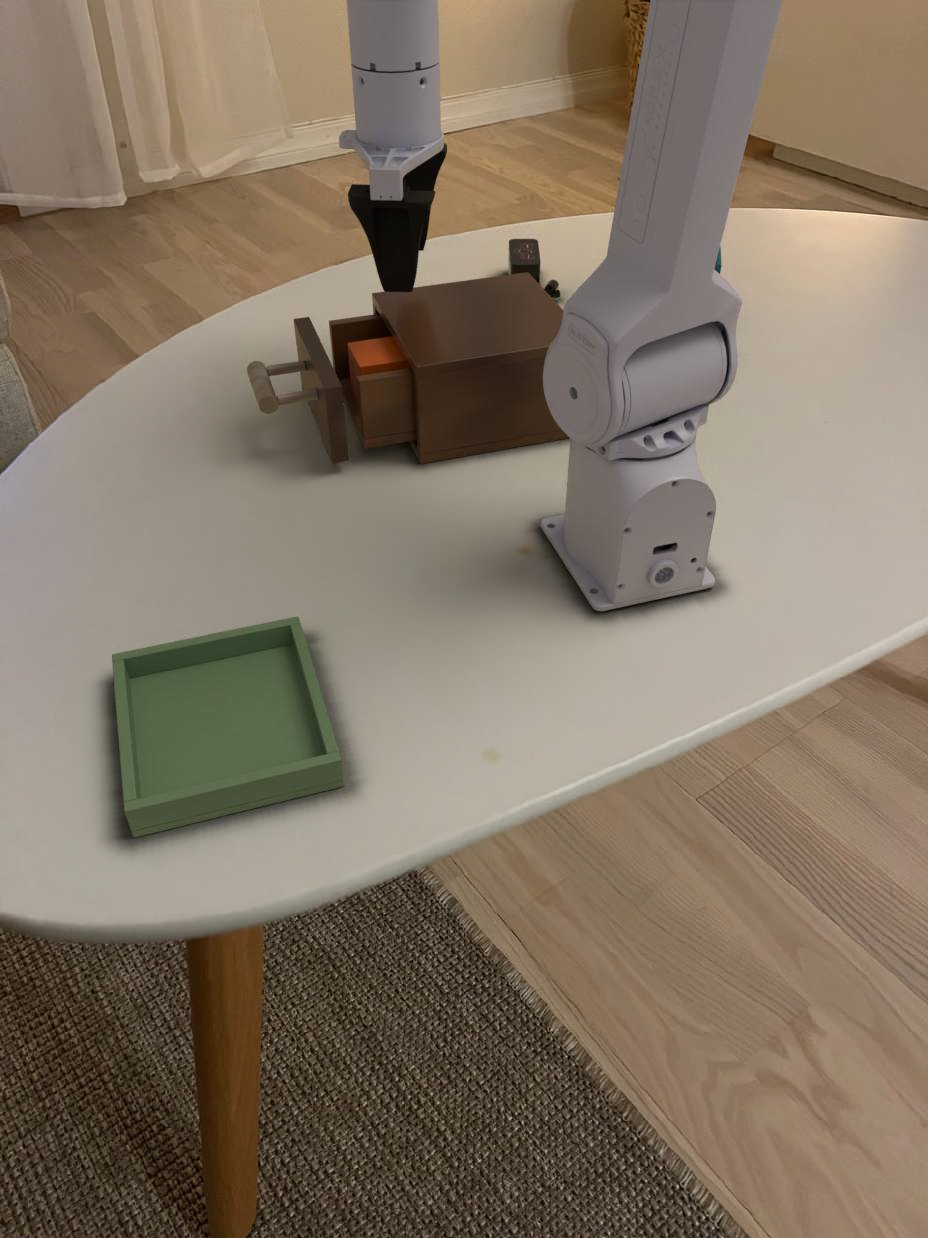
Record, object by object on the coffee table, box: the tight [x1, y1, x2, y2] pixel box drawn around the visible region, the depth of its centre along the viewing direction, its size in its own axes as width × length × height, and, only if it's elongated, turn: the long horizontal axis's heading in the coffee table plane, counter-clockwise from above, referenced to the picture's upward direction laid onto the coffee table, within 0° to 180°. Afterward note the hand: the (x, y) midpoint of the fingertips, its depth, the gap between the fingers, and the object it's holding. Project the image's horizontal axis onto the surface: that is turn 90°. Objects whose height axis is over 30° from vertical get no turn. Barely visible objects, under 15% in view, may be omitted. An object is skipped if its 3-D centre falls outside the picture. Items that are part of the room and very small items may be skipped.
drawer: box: [246, 314, 417, 464], centre depth 74 cm, size 16×11×6 cm
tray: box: [111, 616, 346, 838], centre depth 52 cm, size 11×10×2 cm
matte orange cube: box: [347, 336, 411, 406], centre depth 74 cm, size 4×5×4 cm
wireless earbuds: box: [507, 238, 561, 299], centre depth 95 cm, size 5×7×3 cm, turn 179°
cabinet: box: [371, 272, 570, 465], centre depth 76 cm, size 13×13×8 cm
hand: (404, 268), depth 74 cm, fingers open, 7 cm apart
